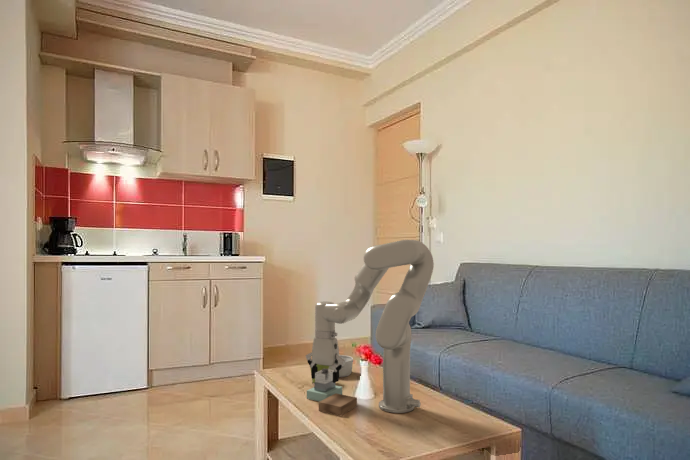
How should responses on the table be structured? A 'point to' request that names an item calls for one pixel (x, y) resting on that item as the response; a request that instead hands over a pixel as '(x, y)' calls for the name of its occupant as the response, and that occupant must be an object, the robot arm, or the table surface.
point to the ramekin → (345, 366)
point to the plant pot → (320, 369)
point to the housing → (324, 380)
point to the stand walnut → (337, 404)
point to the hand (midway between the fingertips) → (324, 379)
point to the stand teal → (322, 393)
